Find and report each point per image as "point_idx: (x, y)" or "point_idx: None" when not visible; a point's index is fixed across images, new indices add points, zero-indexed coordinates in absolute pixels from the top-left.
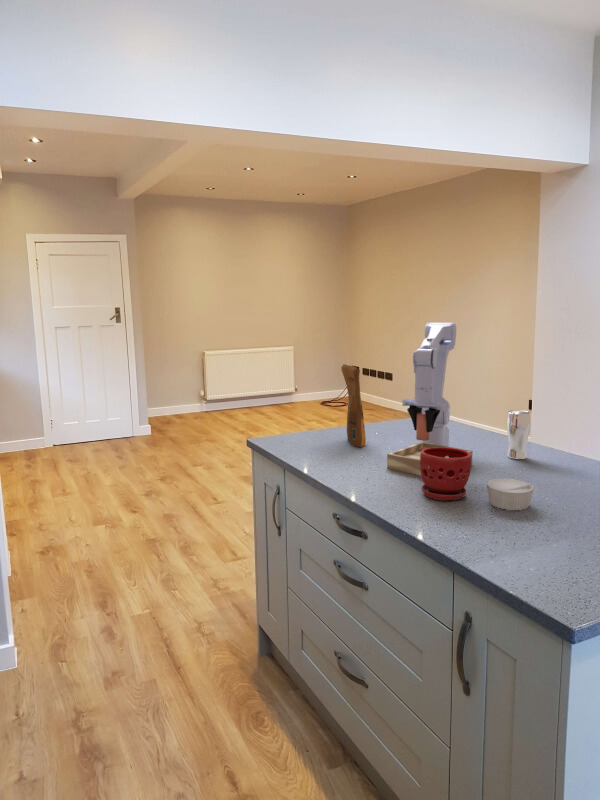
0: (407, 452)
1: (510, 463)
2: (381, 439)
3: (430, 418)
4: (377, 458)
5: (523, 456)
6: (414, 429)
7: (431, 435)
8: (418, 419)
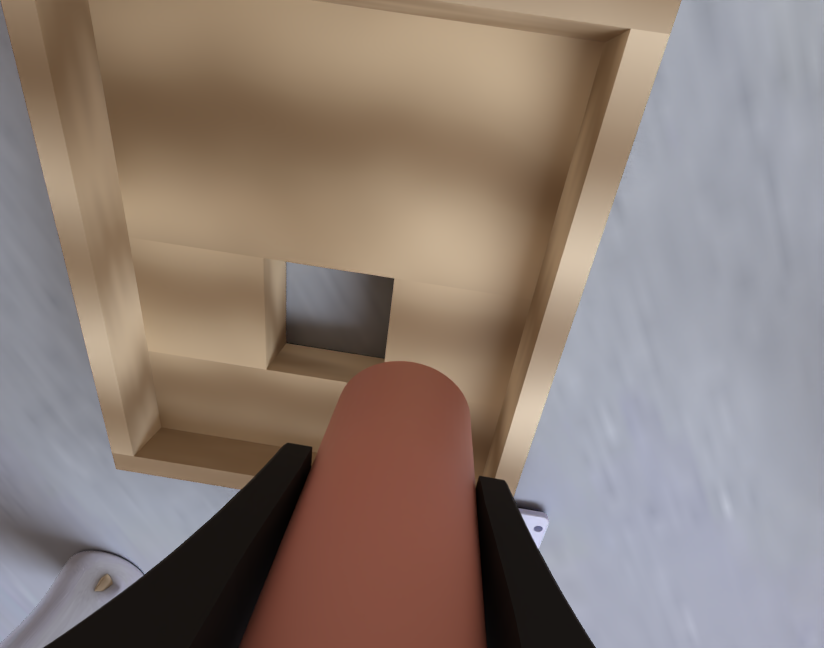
0: (532, 314)
1: (68, 499)
2: (810, 627)
3: (65, 632)
4: (767, 270)
5: (58, 574)
6: (504, 484)
7: None
8: (408, 613)
